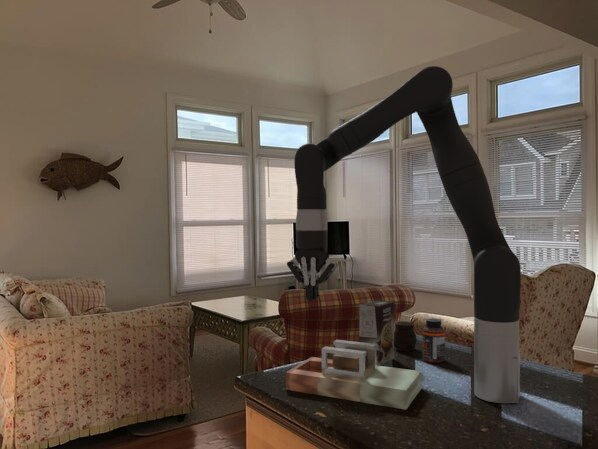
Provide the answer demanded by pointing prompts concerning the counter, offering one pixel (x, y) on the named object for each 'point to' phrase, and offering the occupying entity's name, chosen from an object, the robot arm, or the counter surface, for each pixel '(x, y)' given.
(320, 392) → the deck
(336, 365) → the walnut block
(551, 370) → the counter surface
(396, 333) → the mate gourd
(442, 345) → the supplement bottle
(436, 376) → the counter surface
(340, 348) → the tunnel
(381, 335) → the coffee box
